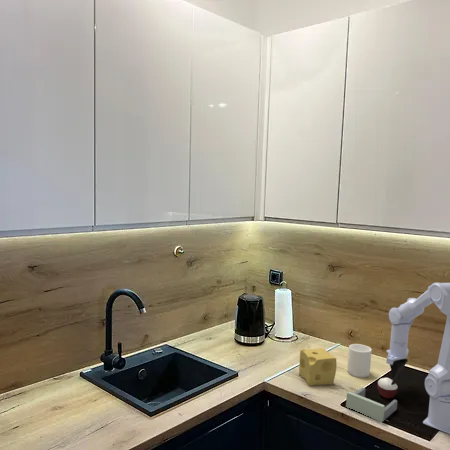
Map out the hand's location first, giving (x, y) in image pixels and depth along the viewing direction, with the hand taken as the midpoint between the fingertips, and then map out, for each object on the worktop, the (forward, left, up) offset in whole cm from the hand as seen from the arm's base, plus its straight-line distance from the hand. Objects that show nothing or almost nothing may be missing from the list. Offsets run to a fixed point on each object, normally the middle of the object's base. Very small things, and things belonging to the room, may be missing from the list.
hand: (396, 378), depth 153 cm
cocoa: (0, +7, -5) cm, 8 cm away
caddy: (0, +19, -4) cm, 19 cm away
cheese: (+24, +14, -5) cm, 28 cm away
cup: (+17, -4, -5) cm, 18 cm away
